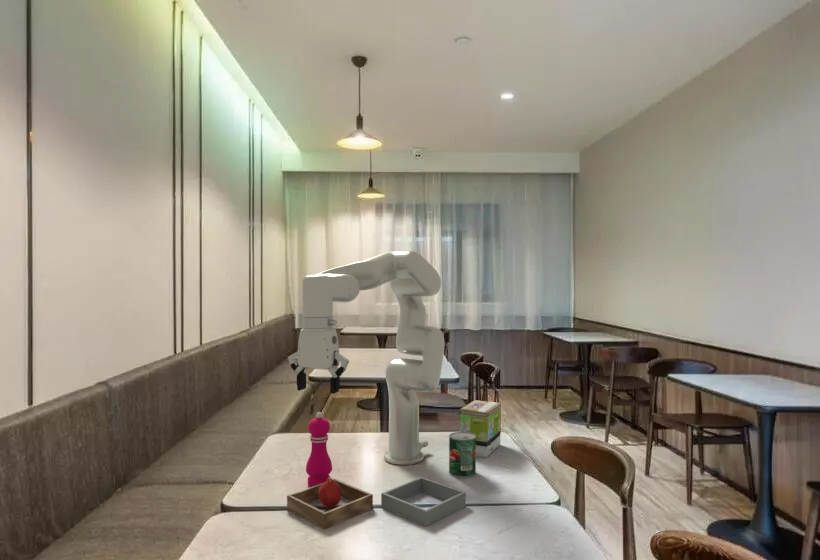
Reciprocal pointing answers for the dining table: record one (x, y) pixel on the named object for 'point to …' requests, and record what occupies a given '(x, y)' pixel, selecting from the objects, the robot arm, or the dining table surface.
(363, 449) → the dining table surface
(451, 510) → the grey bin
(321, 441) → the pepper mill
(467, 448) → the canned tomato
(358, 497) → the walnut bin
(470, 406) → the tea box
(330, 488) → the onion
